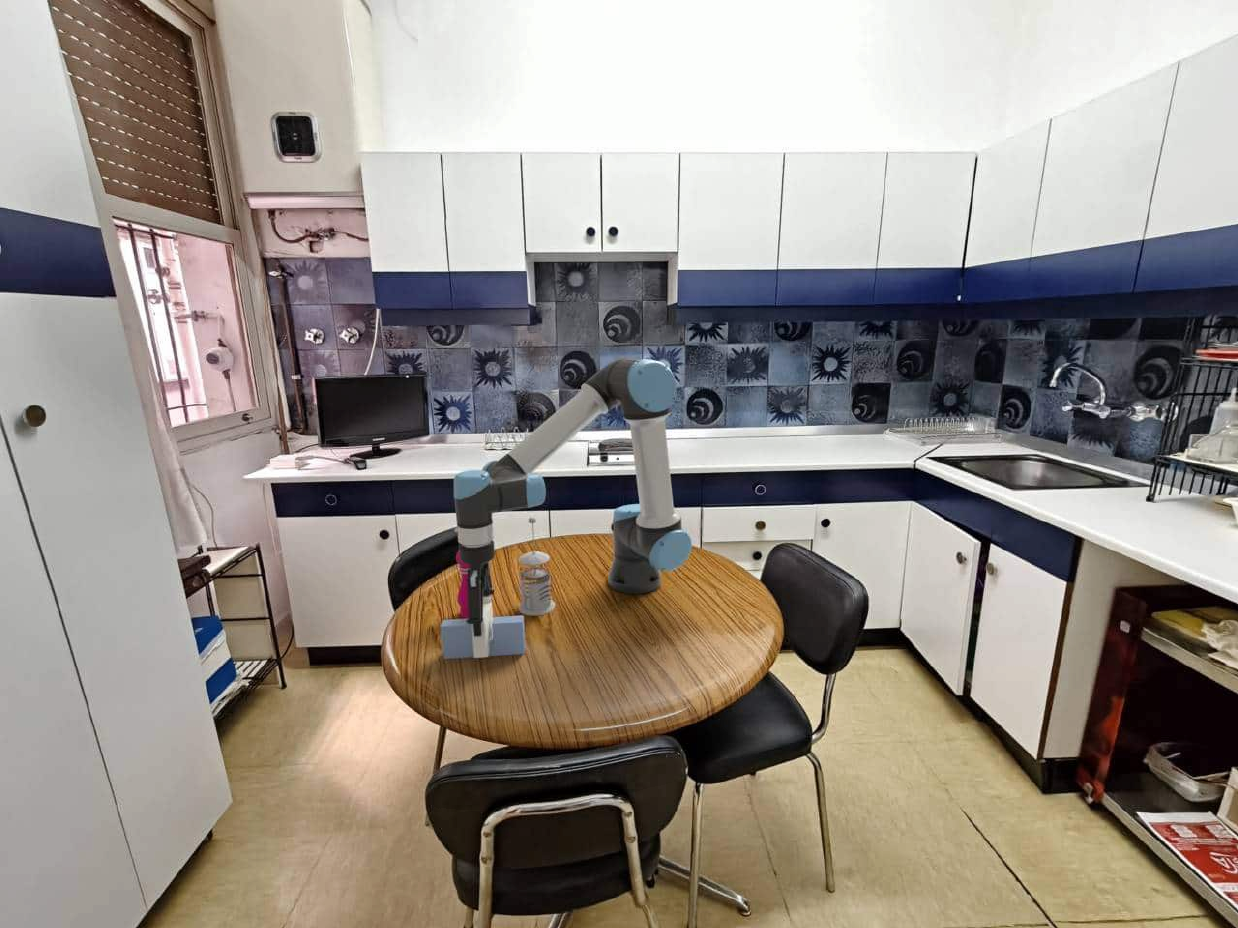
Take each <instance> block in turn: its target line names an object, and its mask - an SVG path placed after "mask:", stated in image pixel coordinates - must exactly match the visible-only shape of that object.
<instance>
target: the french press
mask: <svg viewBox="0 0 1238 928" xmlns="http://www.w3.org/2000/svg"><path fill="white" fill-rule="evenodd" d="M529 523H530V524H531V528H532V529H531V530H532V533H534V523H537V519H536V518H535V517H533V516H532V517H530V518H528V524H529ZM534 535H535V534H532V545H533V551H529V552H524V554H523V555H521V556H520V557H518V562H519V563H520V564H521V565H523V566H527V567H529V568H526V569H524V568H522V569H521V571H520V572H519V575H518V579H517V590H518V593H519V594H520V595H521V603H520V604H519V605H518V611H519V612H520V614H521V613H522V615H523V614H524V615H526V616H531V617H532V616H542V615H544V614H549V613H550V612H552V611H553V610H554V609H555V607H556V603H555V601H553V600H552V595H551V594H552V591H551V585H552V584H551V575H550V574H549V573H550V572H549V570H548V569H547V568H545V567H539V566H541V565H544V564H546V563H548V561H550V558H551V557H550V555H549V554H547V553H546V552H542V551H538V550H536V551H535V538H534ZM519 580H520V583H519ZM527 581H529V582H527ZM530 581H531V582H530ZM532 581H533V582H532ZM519 584H520V586H519Z"/></svg>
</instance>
